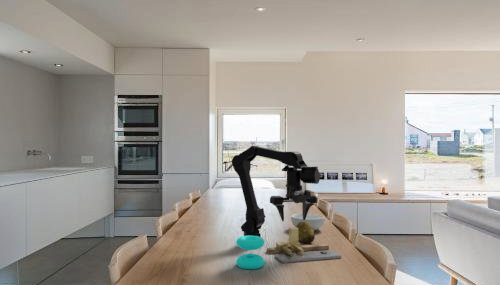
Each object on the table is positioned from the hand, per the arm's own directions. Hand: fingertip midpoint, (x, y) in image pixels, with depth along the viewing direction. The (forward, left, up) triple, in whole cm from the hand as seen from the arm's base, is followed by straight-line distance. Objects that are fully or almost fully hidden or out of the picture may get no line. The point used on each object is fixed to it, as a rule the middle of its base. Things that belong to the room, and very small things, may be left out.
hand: (293, 220), depth 155 cm
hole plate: (+2, -10, -12) cm, 16 cm away
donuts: (-22, -14, -13) cm, 29 cm away
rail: (+2, -4, -12) cm, 13 cm away
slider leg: (0, -4, -11) cm, 12 cm away
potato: (+11, +14, -13) cm, 22 cm away
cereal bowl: (+21, +34, -13) cm, 42 cm away
